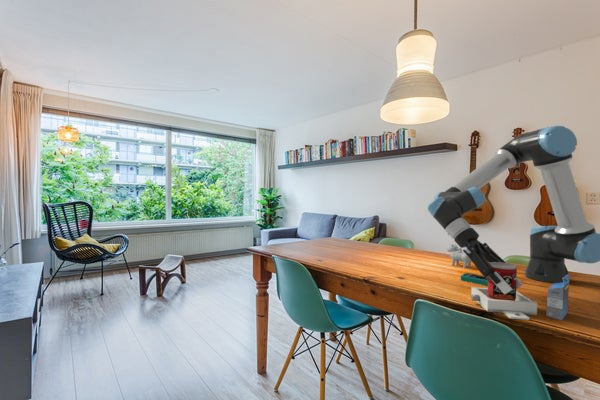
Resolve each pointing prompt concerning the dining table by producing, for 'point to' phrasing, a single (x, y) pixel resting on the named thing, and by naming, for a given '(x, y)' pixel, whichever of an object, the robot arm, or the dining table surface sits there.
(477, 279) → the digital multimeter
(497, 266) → the canned food
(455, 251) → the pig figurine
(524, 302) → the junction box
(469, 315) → the dining table surface
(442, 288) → the dining table surface
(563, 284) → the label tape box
